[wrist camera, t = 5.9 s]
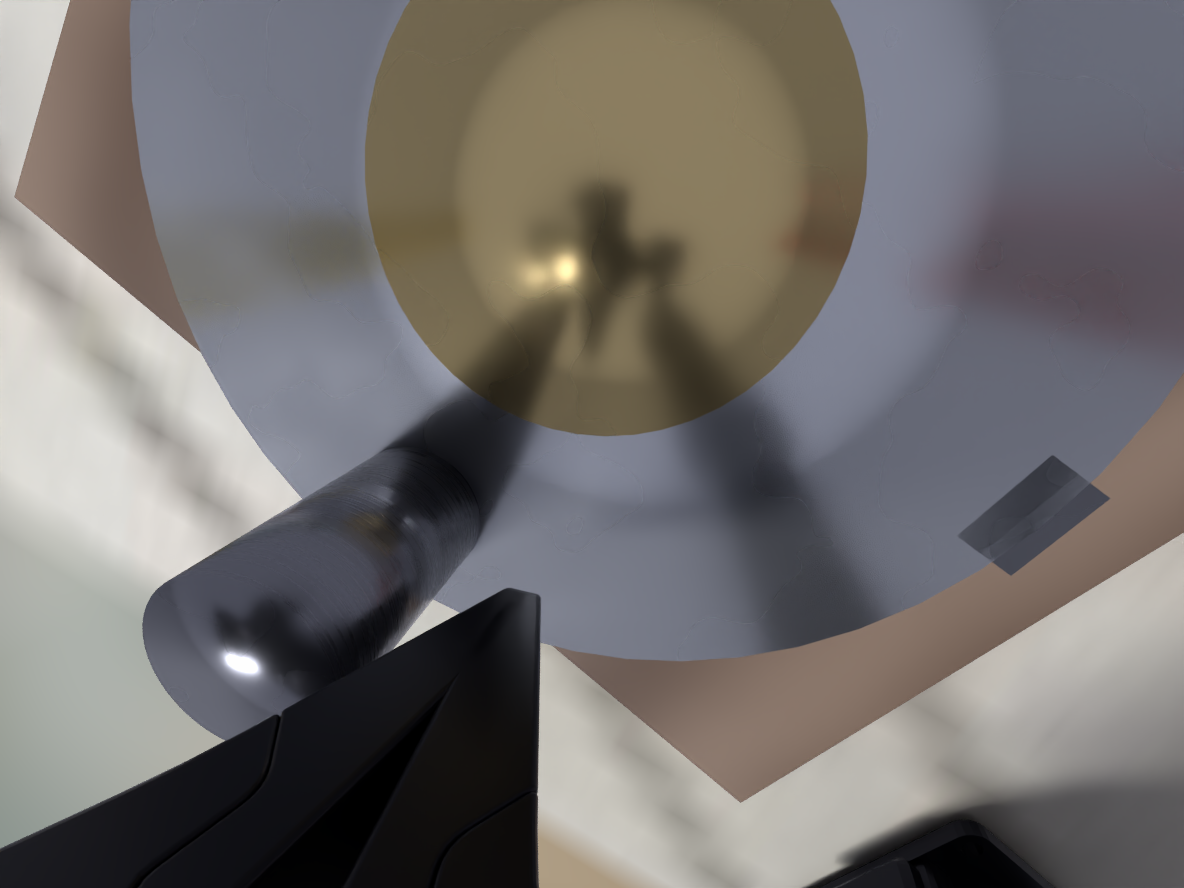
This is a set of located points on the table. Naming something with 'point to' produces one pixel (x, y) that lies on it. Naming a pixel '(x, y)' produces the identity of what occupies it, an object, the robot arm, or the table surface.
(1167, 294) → the notched round platform
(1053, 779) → the table surface
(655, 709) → the base plate
